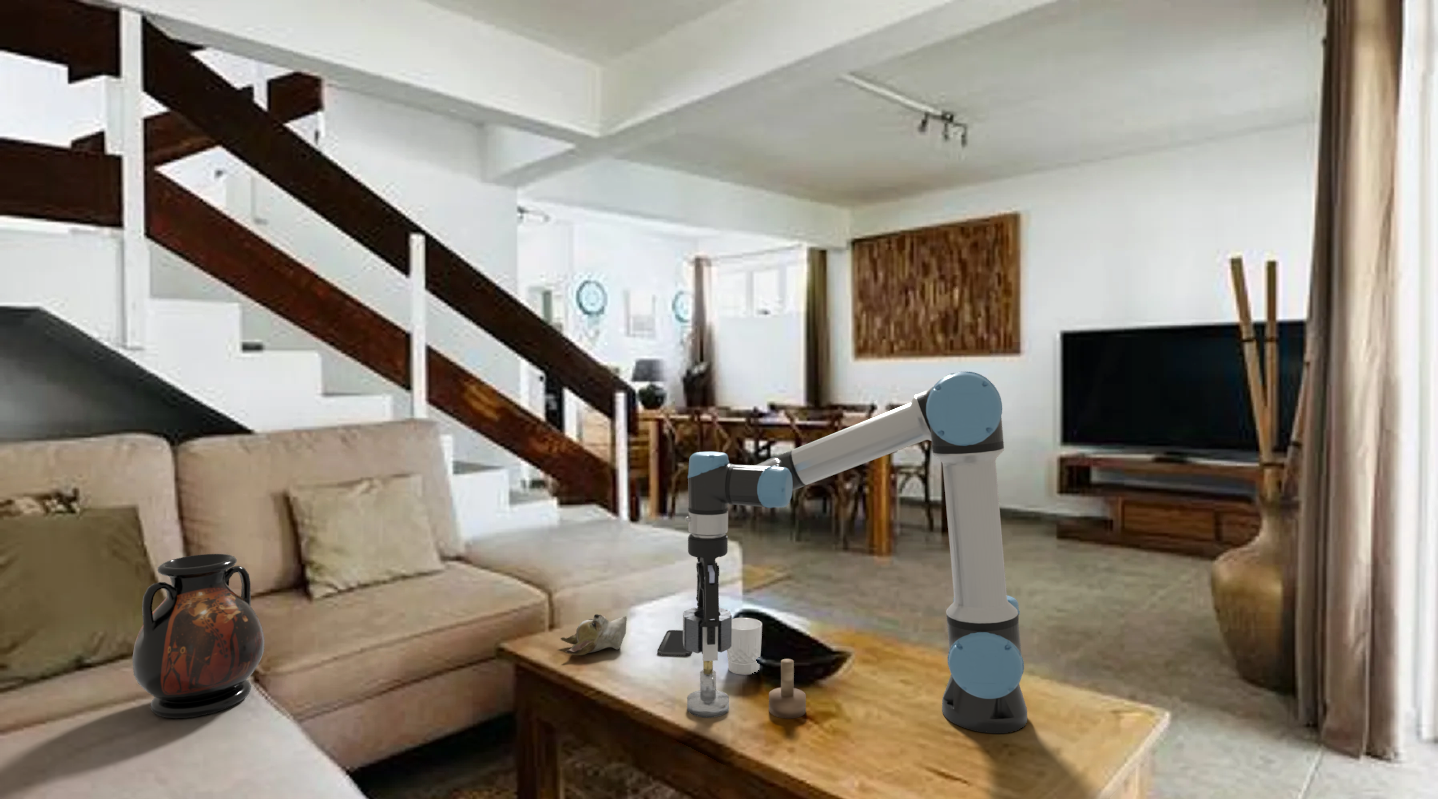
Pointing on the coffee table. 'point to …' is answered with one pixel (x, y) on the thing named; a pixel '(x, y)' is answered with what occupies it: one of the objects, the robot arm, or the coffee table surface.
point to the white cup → (745, 646)
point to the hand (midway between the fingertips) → (707, 650)
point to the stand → (787, 695)
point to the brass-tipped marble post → (708, 696)
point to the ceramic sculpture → (597, 635)
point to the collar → (695, 632)
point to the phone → (673, 644)
